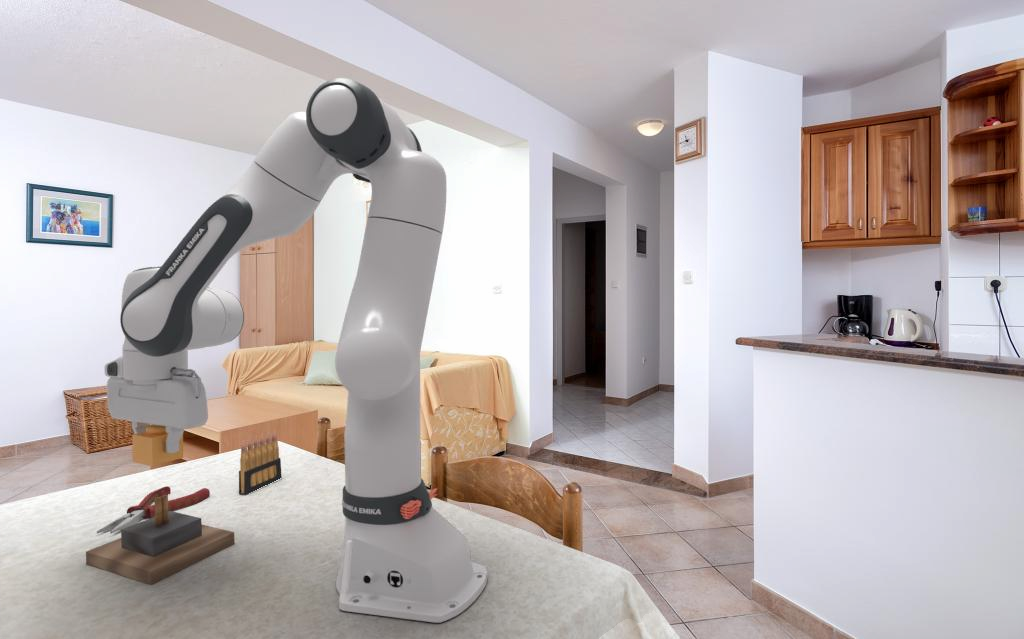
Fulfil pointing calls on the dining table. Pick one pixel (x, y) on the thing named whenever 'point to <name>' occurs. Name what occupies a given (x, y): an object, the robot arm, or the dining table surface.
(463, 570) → the robot arm
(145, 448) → the orange knobbed cube
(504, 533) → the dining table surface
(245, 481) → the ammunition clip
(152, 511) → the pliers
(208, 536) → the board
